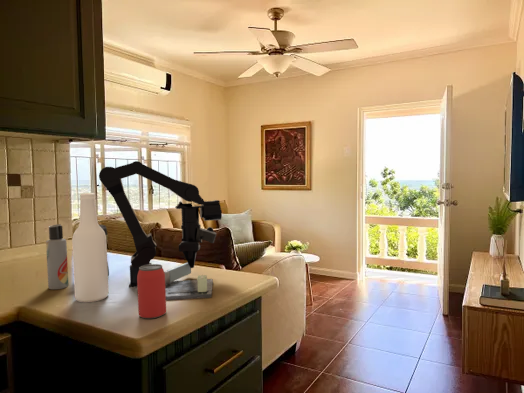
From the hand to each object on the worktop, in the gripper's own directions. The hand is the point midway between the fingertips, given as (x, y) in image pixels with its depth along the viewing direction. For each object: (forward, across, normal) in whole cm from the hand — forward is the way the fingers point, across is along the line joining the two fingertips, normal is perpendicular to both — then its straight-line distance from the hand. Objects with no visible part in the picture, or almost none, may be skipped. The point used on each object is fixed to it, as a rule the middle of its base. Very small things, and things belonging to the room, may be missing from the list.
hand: (192, 267), depth 127 cm
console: (+4, -14, 0) cm, 15 cm away
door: (+2, -4, +4) cm, 6 cm away
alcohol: (+4, -16, +27) cm, 32 cm away
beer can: (+4, -33, +7) cm, 34 cm away
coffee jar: (+4, +7, +34) cm, 35 cm away
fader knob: (+2, -19, -5) cm, 20 cm away
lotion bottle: (+4, -2, +42) cm, 42 cm away
